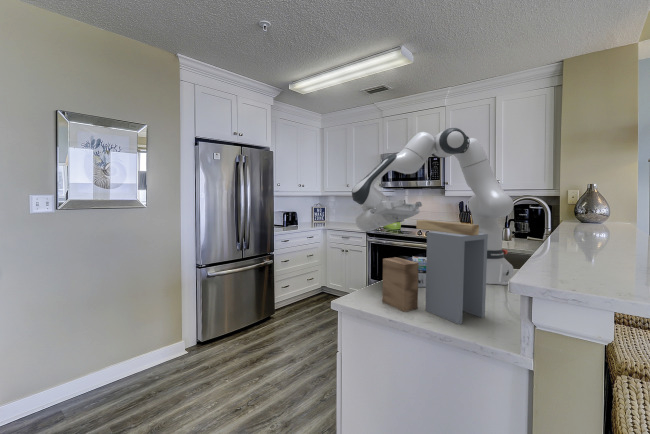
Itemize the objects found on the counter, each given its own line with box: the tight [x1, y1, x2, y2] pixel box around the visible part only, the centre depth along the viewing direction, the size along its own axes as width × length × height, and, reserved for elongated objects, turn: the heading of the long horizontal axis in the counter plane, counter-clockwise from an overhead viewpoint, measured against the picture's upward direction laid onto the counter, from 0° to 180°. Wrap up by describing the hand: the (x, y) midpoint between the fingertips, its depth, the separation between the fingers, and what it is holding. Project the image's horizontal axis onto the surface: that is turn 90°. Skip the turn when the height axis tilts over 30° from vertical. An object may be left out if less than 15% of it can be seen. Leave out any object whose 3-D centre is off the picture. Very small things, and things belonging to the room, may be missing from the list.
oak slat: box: [415, 219, 479, 236], centre depth 105 cm, size 4×22×3 cm, turn 29°
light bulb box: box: [411, 256, 427, 288], centre depth 136 cm, size 11×7×11 cm, turn 168°
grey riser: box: [424, 231, 488, 325], centre depth 102 cm, size 12×13×26 cm
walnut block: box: [381, 256, 419, 313], centre depth 110 cm, size 6×11×16 cm, turn 29°
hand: (412, 202), depth 119 cm, fingers open, 8 cm apart
